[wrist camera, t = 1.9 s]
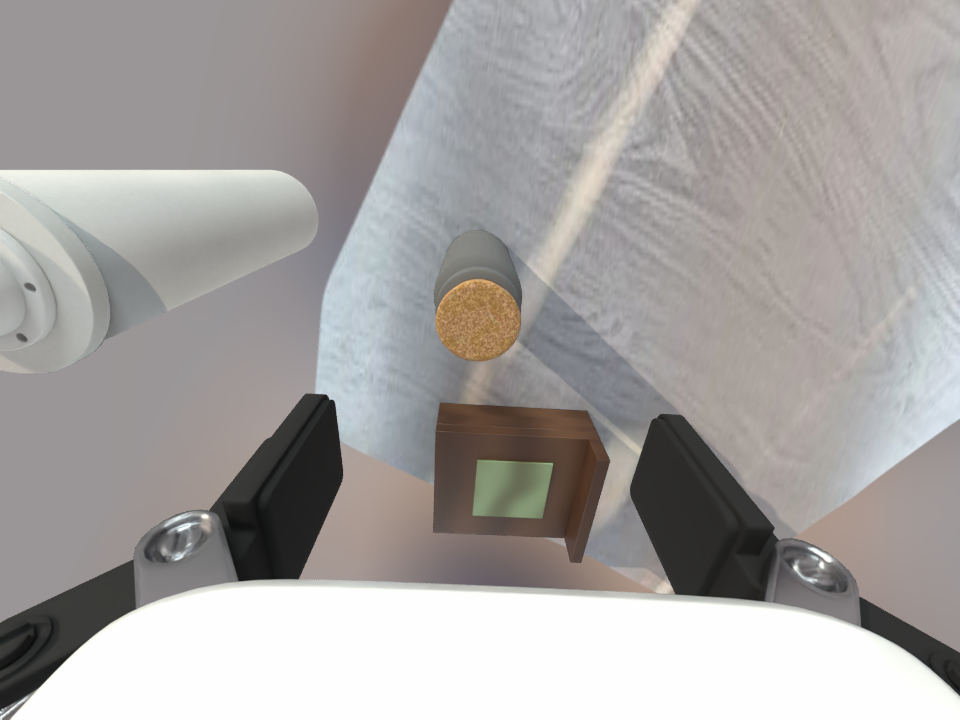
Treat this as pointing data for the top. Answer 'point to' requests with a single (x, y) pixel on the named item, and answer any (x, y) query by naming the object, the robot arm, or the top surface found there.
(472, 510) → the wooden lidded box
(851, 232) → the top surface
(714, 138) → the top surface
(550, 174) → the top surface
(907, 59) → the top surface
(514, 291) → the bottle
